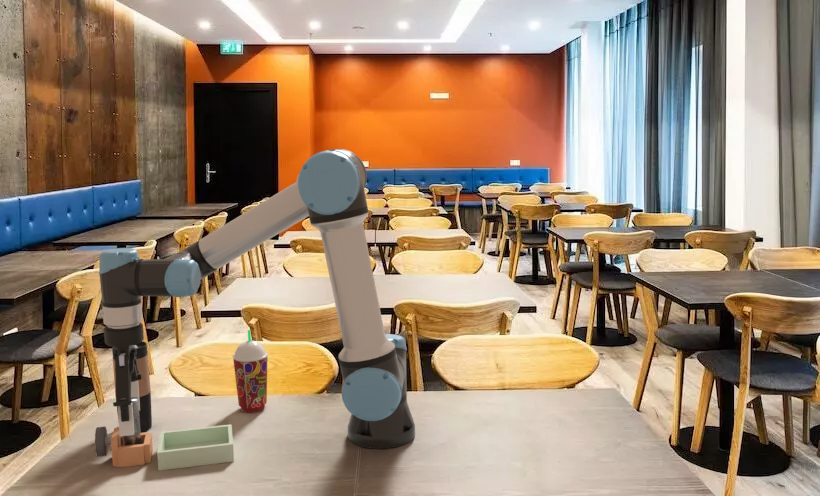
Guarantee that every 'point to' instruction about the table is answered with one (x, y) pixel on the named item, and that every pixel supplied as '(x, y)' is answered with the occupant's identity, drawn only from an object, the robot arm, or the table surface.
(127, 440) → the pin
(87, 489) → the table surface
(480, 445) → the table surface
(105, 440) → the block
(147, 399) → the travel mug
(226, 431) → the tray
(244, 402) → the smoothie
